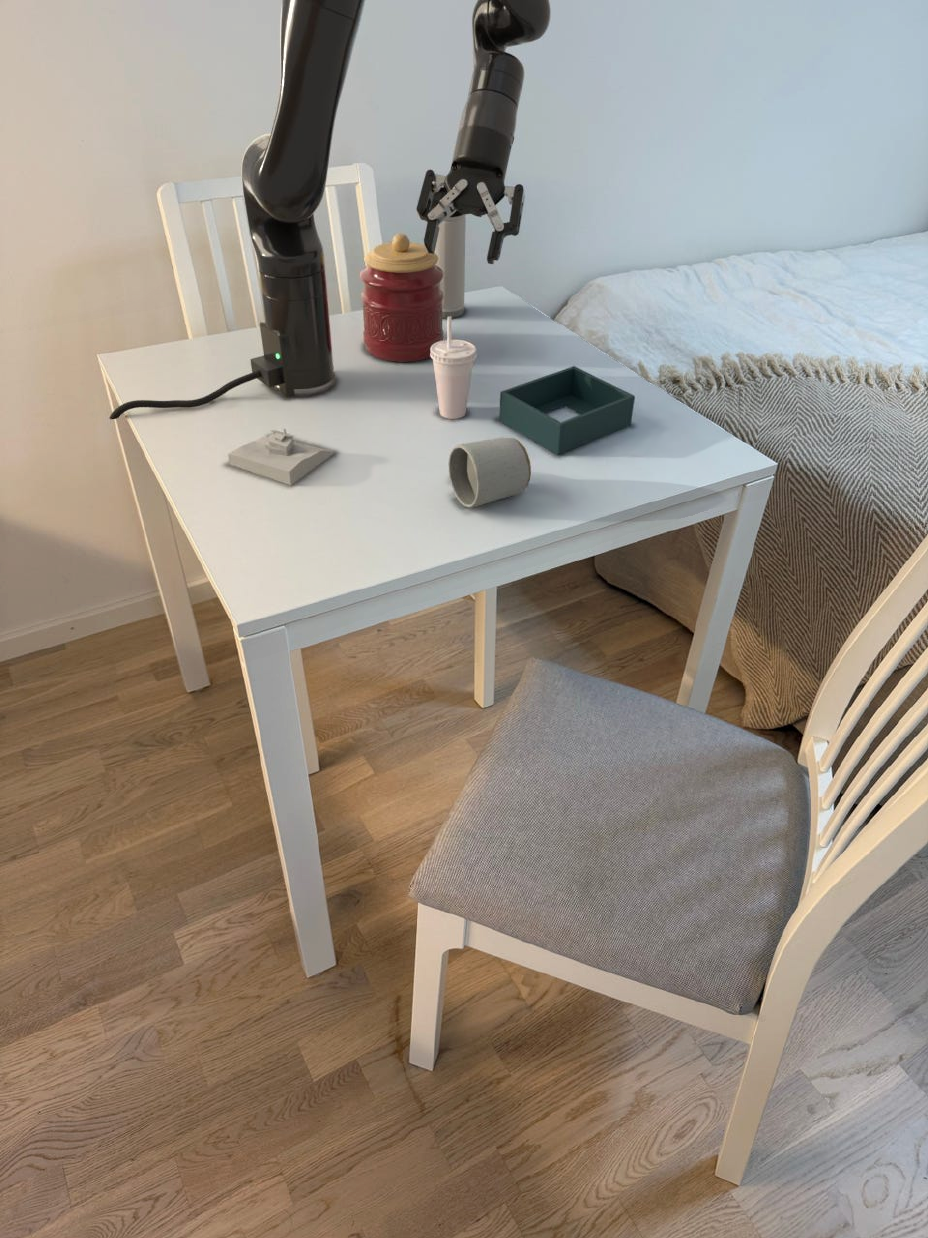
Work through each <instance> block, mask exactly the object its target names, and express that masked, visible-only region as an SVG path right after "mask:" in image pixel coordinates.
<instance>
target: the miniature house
mask: <svg viewBox="0 0 928 1238" xmlns="http://www.w3.org/2000/svg"><path fill="white" fill-rule="evenodd" d="M282 430H283V432H282V431H279V430H276V429H273V430H271V433H270V435H268V436H264V437H261V438H259V439H257V440H254V441H252V442H249V443H246V444H244V445H241V446H239V447H237V448H235V449H234V450H232V451H230V452H229V453H227V456H228V462H229V465H230V466H233V467H236V468H239V469H242V470H244V471H248V472H250V473H253V474H256V475H259V476H262V477H265V478H268V479H271V480H275V481H278V482H280V483H283V484H286V485H289V486H292V485H293V484H295V483H296V482H298V481H299V480H301V478H303V477H304V476H305V475H307V474H308V473H309V472H311V471H313V470H314V469H316V467H318V466H319V465H320V464H322V463H323V462H325V461H326V460H327V459H328V458H330V457H331V456H333V455H334V454H335V450H331V449H325V448H322V447H317V446H313V445H309V444H304V443H301V442H297V441H295V440H294V435H292V434H288V433H287V429H286V428H283V429H282Z"/></svg>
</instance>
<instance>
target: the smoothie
mask: <svg viewBox="0 0 928 1238" xmlns="http://www.w3.org/2000/svg"><path fill="white" fill-rule="evenodd" d="M446 319H447V321H446V323H447V326H446V327H447V328H446V329H447V331H446V334H447V335H446V336H447V337H446V339H443V341H439V342H436V343H435V344H433V345H432V346H431V348H430V349H431V353H430V356H431V357H430V358H431V359H432V364H433V372H434V378H435V379H434V380H435V387H436V393H437V394H436V395H437V401H438V402H437V403H438V409H439V414H440V416H441V417H442V418H445V419H449V420H457V419H458V420H459V419H461V418H463V417H465V415H466V413H467V406H468V400H469V393H470V385H471V381H472V380H471V379H472V373H473V367H474V360H475V359H476V358H477V347H476V346H475V345H474V344H473V343H471V342H469V341H467V340H463V339H453V338H452V323H453V322H452V320H453V318H452V317H450V316H449V317H447V318H446Z"/></svg>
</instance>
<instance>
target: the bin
mask: <svg viewBox="0 0 928 1238" xmlns="http://www.w3.org/2000/svg"><path fill="white" fill-rule="evenodd" d="M635 399H636V396H635V395H634V394H632V393H629V392H628V391H626V390H624V389H622V388H620V387H617V386H616V385H613V384H612V383H610V382H607V381H606V380H603V379H602V378H599V377H597V376H595V375H593V374H592V373H589V372H587V371H585V370H583V369H581V368H579V367H578V366H576V365H572V366H569V367H568V368H564V369H562V370H559V371H555V372H553V373H551V374H550V373H549V374H547V375H545V376H542V377H539V378H536V379H533V380H530V381H527V382H524V383H521V384H518V385H516V386H513V387H510V388H507V389H505V390H501V391H500V392H499V413H498V415H499V416H498V421H499V422H500V423H502V424H503V425H505V426H507V427H509V428H510V429H511V430H514V431H515V432H517V433H519V434H521V435H522V436H524V437H525V438H527V439H529V440H531V441H533V442H534V443H536V444H537V445H540V446H541V447H542V448H545V449H546V450H547V451H550V452H551V453H553V454H555V455H556V456H560V455H562V454H565V453H567V452H569V451H573V450H574V449H576V448H577V449H578V448H579V447H582V446H584V445H586V444H589V443H591V442H594V441H596V440H598V439H601V438H604V437H605V436H608V435H611V434H613V433H616V432H618V431H620V430H623V429H625V428H628V427H631V426H632V420H633V412H634V405H635ZM564 407H567V408H569V409H571V410H573V411H575V412H576V413H578V414H579V415H577V416H574V417H571V418H569V419H566V420H563V421H559V420H558V419H555V418H554V417H552V416H550V415H548V413H551V412H553V411H556V410H559V409H562V408H564Z"/></svg>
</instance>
